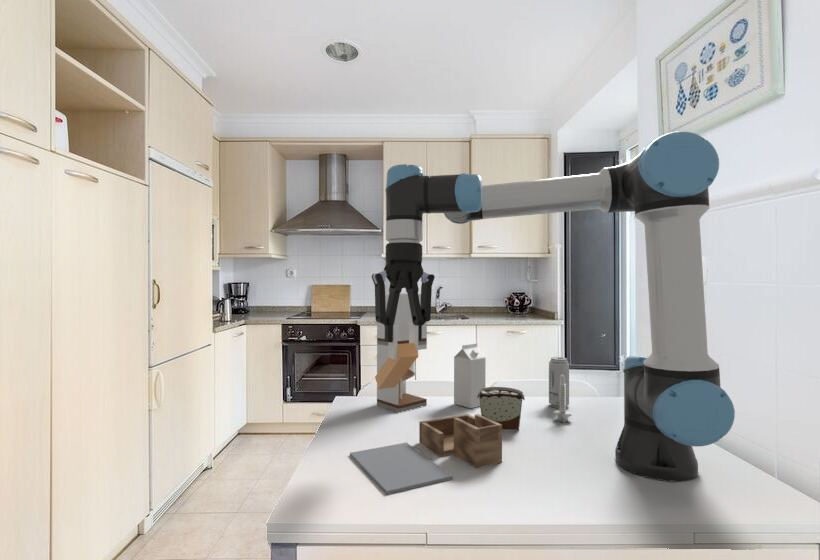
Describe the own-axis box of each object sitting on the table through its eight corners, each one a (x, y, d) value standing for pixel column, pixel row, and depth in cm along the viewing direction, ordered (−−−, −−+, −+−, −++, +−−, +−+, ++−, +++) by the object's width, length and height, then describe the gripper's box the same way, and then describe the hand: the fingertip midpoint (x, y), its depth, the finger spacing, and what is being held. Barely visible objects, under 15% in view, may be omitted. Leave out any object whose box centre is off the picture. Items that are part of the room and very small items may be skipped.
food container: (521, 423, 119) (521, 386, 119) (524, 431, 113) (524, 392, 113) (475, 421, 120) (475, 385, 120) (476, 429, 114) (477, 391, 114)
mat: (452, 478, 85) (452, 475, 85) (386, 494, 79) (386, 491, 79) (406, 445, 103) (406, 442, 103) (349, 455, 96) (350, 452, 96)
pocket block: (515, 459, 95) (515, 422, 95) (461, 471, 88) (461, 432, 88) (467, 433, 111) (467, 402, 111) (419, 442, 104) (419, 409, 104)
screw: (568, 417, 124) (574, 423, 119) (551, 417, 124) (556, 423, 119) (568, 372, 124) (574, 376, 119) (551, 372, 124) (556, 375, 120)
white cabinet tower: (399, 412, 129) (399, 294, 129) (376, 405, 136) (377, 293, 137) (426, 405, 136) (426, 293, 137) (404, 398, 144) (404, 293, 144)
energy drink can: (545, 404, 139) (545, 356, 139) (562, 403, 140) (562, 356, 140) (554, 409, 133) (554, 360, 133) (572, 408, 134) (573, 359, 134)
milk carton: (453, 404, 138) (453, 344, 138) (468, 400, 143) (468, 342, 143) (470, 409, 133) (471, 346, 133) (485, 404, 137) (485, 344, 138)
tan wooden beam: (418, 355, 87) (414, 342, 89) (400, 357, 85) (396, 344, 87) (394, 387, 97) (391, 375, 98) (378, 389, 95) (375, 376, 97)
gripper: (431, 246, 96) (430, 352, 96) (358, 242, 88) (357, 357, 88) (449, 243, 89) (448, 357, 89) (372, 239, 82) (371, 363, 81)
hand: (403, 357), depth 89 cm, fingers closed on tan wooden beam, 4 cm apart
